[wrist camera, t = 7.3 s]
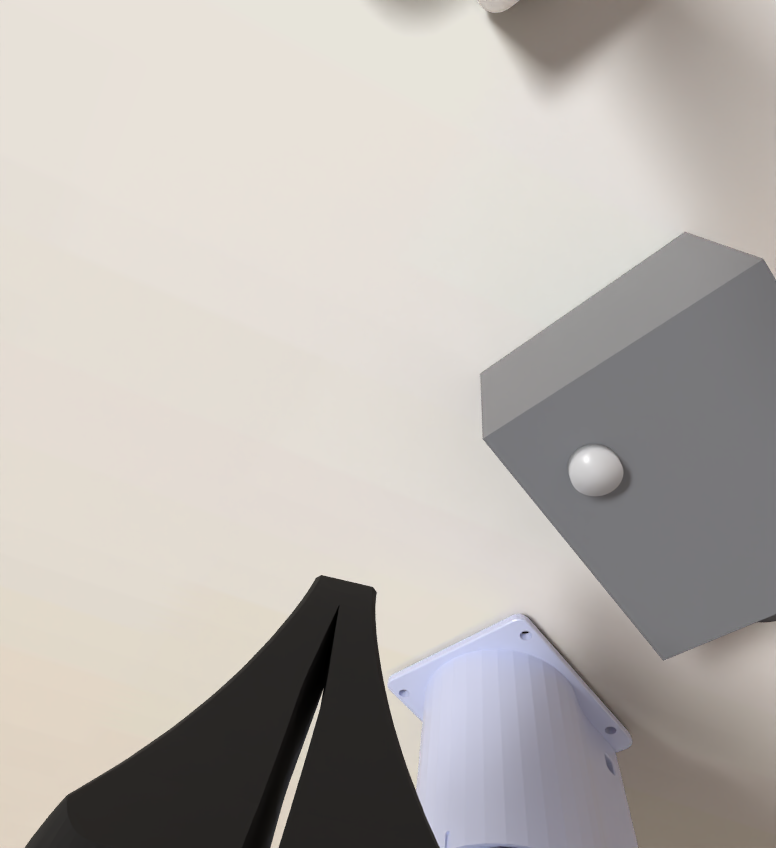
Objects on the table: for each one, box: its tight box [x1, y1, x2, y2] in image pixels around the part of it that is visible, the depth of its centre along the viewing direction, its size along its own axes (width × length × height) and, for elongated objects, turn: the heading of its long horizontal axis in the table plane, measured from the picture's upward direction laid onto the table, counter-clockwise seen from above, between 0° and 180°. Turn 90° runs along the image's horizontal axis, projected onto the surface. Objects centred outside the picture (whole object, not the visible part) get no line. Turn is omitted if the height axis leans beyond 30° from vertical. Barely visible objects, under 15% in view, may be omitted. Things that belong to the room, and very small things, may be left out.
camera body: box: [480, 232, 776, 660], centre depth 19 cm, size 12×8×6 cm
